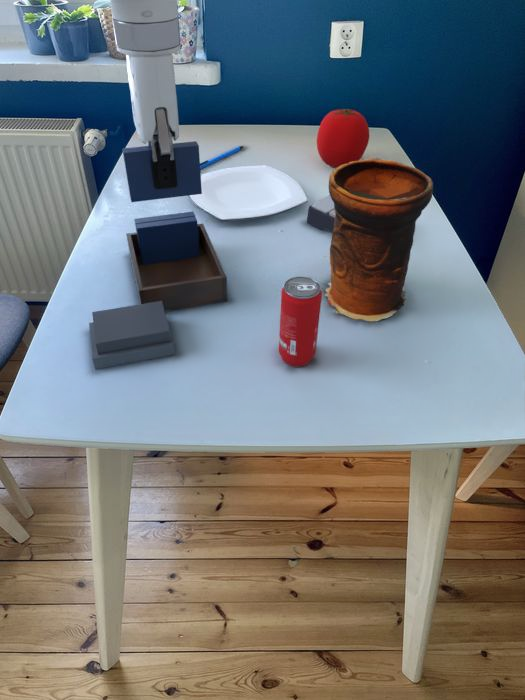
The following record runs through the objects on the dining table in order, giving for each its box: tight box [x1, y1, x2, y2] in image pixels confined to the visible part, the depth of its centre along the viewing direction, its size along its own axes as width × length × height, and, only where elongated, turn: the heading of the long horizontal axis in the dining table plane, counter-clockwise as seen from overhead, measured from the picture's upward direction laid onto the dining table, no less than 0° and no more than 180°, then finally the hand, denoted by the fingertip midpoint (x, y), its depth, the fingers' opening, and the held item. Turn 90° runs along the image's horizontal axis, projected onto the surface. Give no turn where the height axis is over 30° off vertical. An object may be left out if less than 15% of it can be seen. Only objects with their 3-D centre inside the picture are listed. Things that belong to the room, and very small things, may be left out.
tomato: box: [316, 108, 370, 169], centre depth 122 cm, size 12×12×13 cm
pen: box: [200, 145, 245, 170], centre depth 127 cm, size 1×19×1 cm, turn 143°
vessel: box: [324, 157, 434, 322], centre depth 81 cm, size 14×14×20 cm
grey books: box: [88, 301, 176, 370], centre depth 77 cm, size 11×8×4 cm
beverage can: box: [278, 276, 323, 368], centre depth 72 cm, size 5×5×12 cm
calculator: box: [306, 194, 336, 233], centre depth 103 cm, size 11×4×15 cm
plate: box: [189, 164, 309, 221], centre depth 112 cm, size 23×23×2 cm
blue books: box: [133, 211, 200, 265], centre depth 92 cm, size 10×3×7 cm, turn 107°
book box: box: [125, 223, 228, 312], centre depth 89 cm, size 13×17×5 cm
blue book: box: [122, 140, 202, 203], centre depth 74 cm, size 10×2×7 cm, turn 107°
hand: (164, 182), depth 75 cm, fingers closed on blue book, 1 cm apart
